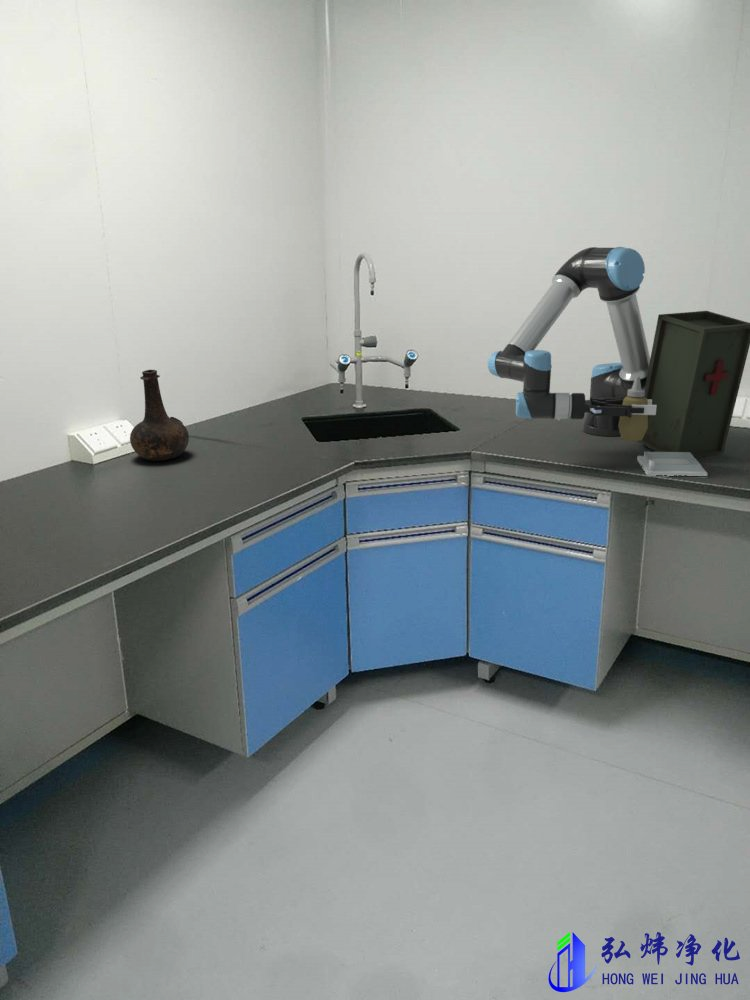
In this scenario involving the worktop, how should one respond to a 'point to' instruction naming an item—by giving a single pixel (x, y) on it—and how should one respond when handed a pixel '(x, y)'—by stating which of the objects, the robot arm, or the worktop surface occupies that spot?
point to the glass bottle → (157, 426)
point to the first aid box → (694, 381)
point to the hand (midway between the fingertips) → (653, 407)
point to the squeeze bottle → (637, 423)
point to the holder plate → (670, 464)
